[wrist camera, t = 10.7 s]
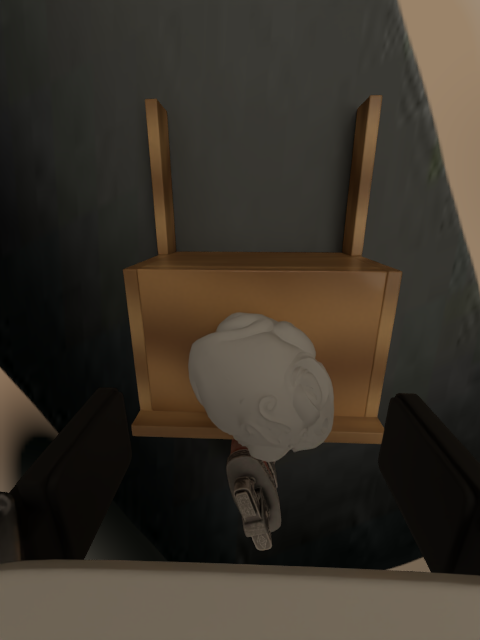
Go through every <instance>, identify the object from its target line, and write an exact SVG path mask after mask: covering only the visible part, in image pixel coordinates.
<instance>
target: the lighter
mask: <svg viewBox="0 0 480 640" xmlns="http://www.w3.org/2000/svg"><path fill="white" fill-rule="evenodd" d="M274 464H275V461H274V462H266V461H263V460H260V459H256V458H254V457H252V456H251V455H250V453H249V450H248V448H247V447H246V446H242V445H241V444H238V441H237V440H235V439H232V444H231V454H230V456H229V457H228V459H227V469H226V471H227V477H228V482H229V487H230V490H231V493H232V496H233V499H234V502H235V504H236V505H237V507H238V509H239V511H240V513H241V515H242V521H243V528H244V532H245V534H246V537H250V536H251V537H252V539H253V541H254V544H255V546H256V548H257V549H258V550H267V549H270V548H271V546H272V544H271V532H273V531H275V530H277V529H278V528H279V527H280V525H281V514H280V505H279V498H278V494H277V490H276V488H277V474H276V470H275V466H274Z"/></svg>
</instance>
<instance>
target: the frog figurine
mask: <svg viewBox="0 0 480 640" xmlns="http://www.w3.org/2000/svg"><path fill="white" fill-rule="evenodd" d="M315 357H316V351H315V348H314V345H313V343H312V342H311V340H310V339H309V338H308V337H307V336H306V335H305V333H304V332H302V331H301V330H300V329H298V328H296V327H295V326H294V325H293V324H292V323H290V322H287V321H281V322H277V321H276V320H274V319H272V318H269V317H266V316H264V315H261V314H252V313H241V312H238V313H233V314H231V315H230V316H228V317H227V318H226V319H225V320H223V321H222V322H221V323H220V324H219V326H218V327H217V330H216V332H214V333H211V334H208V335H206V336H204V337H202V338H200V339H198V340H196V341H195V342H194V343H193V344H192V347H191V350H190V354H189V363H188V369H189V380H190V383H191V386H192V388H193V391H194V393H195V395H196V397H197V399H198V401H199V402H200V404H201V405H203V406H204V408H205V410H206V412H207V414H208V417H209V418H210V419H211V421H212V422H213V423H214V424H215V425H216V426H217V427H218V428H219V429H220V430H222V431H223V432H226V433H228V434H229V435H233V437H234V439H235V440H237V441H238V444H241V445H242V446H246V447H247V448H248V450H249V453H250V455H251V456H252V457H254V458H256V459H260V460H263V461H266V462H274V461H277V460H279V459H280V458H282V457H283V456H284V455H286V453H287V452H288V451H289V450H291V449H292V450H293V451H294V452H296V451H300V450H306V449H312V448H316V447H317V446H318V445H320V444H321V443H322V442H324V441H325V439H326V438H327V437H328V435H329V433H330V432H331V430H332V425H333V418H334V394H333V386H332V382H331V379H330V377H329V375H328V373H327V371H326V369H325V367H324V366H323V364H322V363H320V362H318V361H317V360H316V359H315Z"/></svg>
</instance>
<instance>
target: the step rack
mask: <svg viewBox="0 0 480 640" xmlns="http://www.w3.org/2000/svg"><path fill="white" fill-rule="evenodd" d="M381 103H382V95H371V96H369V97H368V98H367V100H366V101H365V102H364V103H363V104H362V105H361V106H360V107H359V108H358V110H357V119H356V128H355V137H354V146H353V156H352V165H351V174H350V183H349V193H348V202H347V211H346V220H345V229H344V239H343V248H342V252H343V253H330V252H175V251H176V242H175V227H174V212H173V197H172V181H171V166H170V151H169V136H168V121H167V111H166V110H165V109H164V108H163V106H162V105H161V104H160V103H159V102H158V100H157V99H145V106H146V118H147V129H148V141H149V153H150V165H151V176H152V188H153V200H154V211H155V223H156V235H157V247H158V256H155V257H153V258H150V259H148V260H145V261H143V262H140V263H138V264H135V265H133V266H130V267H128V268H125V269H123V273H124V282H125V290H126V298H127V306H128V314H129V322H130V330H131V338H132V346H133V354H134V362H135V370H136V378H137V386H138V394H139V402H140V412H139V414H138V415H137V417H136V419H135V420H134V422H133V424H132V433H133V436H151V437H181V438H212V439H234V437H233V435H229V434H228V433H226V432H223V431H222V430H220V429H219V428H218V427H217V426H216V425H215V424H214V423H213V422H212V421H211V419H210V418H209V417H208V414H207V412H206V410H205V408H204V406H203V405H201V404H200V402H199V401H198V399H197V397H196V395H195V393H194V391H193V388H192V386H191V383H190V380H189V369H188V363H189V354H190V350H191V347H192V344H193V343H194V342H195V341H196V340H198V339H200V338H202V337H204V336H206V335H208V334H211V333H214V332H216V330H217V327H218V326H219V324H220V323H221V322H222V321H223V320H225V319H226V318H227V317H228V316H230V315H231V314H233V313H238V312H241V313H252V314H261V315H264V316H266V317H269V318H272V319H274V320H276V321H277V322H281V321H287V322H290V323H292V324H293V325H294V326H295V327H296V328H298V329H300V330H301V331H302V332H304V333H305V335H306V336H307V337H308V338H309V339H310V340H311V342H312V343H313V345H314V348H315V351H316V357H315V359H316V360H317V361H318V362H320V363H322V364H323V366H324V367H325V369H326V371H327V373H328V375H329V377H330V379H331V382H332V386H333V394H334V418H333V425H332V430H331V432H330V433H329V435H328V437H327V438H326V439H325V441H324V442H335V443H366V444H381V443H382V438H383V433H384V428H383V426H382V424H381V423H380V421H379V419H378V418H377V414H378V409H379V403H380V397H381V392H382V386H383V380H384V375H385V369H386V363H387V357H388V352H389V346H390V340H391V335H392V329H393V323H394V318H395V312H396V306H397V300H398V295H399V289H400V283H401V278H402V271H399V270H396V269H394V268H391V267H388V266H386V265H383V264H380V263H378V262H375V261H372V260H369V259H367V258H364V257H361V256H362V250H363V242H364V234H365V226H366V219H367V211H368V203H369V196H370V188H371V180H372V172H373V165H374V157H375V149H376V142H377V134H378V126H379V118H380V111H381Z"/></svg>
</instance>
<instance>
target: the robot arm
mask: <svg viewBox="0 0 480 640" xmlns="http://www.w3.org/2000/svg"><path fill="white" fill-rule="evenodd" d="M131 458H132V450H131V443H130V437H129V430H128V424H127V417H126V411H125V404H124V398H123V394H122V393H121V392H118V390H117V388H98V389H97V390H96V391H95V393H94V394H93V395H92V396H91V397H90V398H89V399H88V401H87V402H86V403H85V404H84V405H83V406H82V408H81V409H80V410H79V411H78V412H77V413H76V415H75V416H74V417H73V418H72V419H71V420H70V422H69V423H68V424H67V425H66V426H65V427H64V429H63V430H62V431H61V432H60V433H59V434H58V436H57V437H56V438H55V439H54V440H53V441H52V443H51V444H50V445H49V446H48V447H47V448H46V450H45V451H44V452H43V453H42V454H41V455H40V456H39V458H38V459H37V460H36V461H35V462H34V464H33V465H32V466H31V467H30V468H29V469H28V470H27V472H26V473H25V474H24V475H23V476H22V477H21V479H20V480H19V481H18V482H17V484H16V485H15V487H14V488H13V489H12V490H11V491H10V492H9V493H7V492H0V640H480V464H479V462H478V461H477V460H476V459H475V458H474V457H473V456H472V455H471V454H470V452H469V451H468V450H467V449H466V448H465V447H464V446H463V445H462V444H461V443H460V441H459V440H458V439H457V438H456V437H455V436H454V435H453V434H452V433H451V431H450V430H449V429H448V428H447V427H446V426H445V425H444V424H443V423H442V421H441V420H440V419H439V418H438V417H437V416H436V415H435V414H434V413H433V412H432V410H431V409H430V408H429V407H428V406H427V405H426V404H425V403H424V402H423V400H422V399H421V398H420V397H419V396H418V395H417V394H405V393H398V394H396V396H395V398H391V399H390V403H389V408H388V413H387V418H386V423H385V428H384V433H383V438H382V443H381V448H380V453H379V458H378V463H379V468H380V471H381V473H382V475H383V477H384V479H385V481H386V483H387V485H388V487H389V489H390V491H391V493H392V495H393V497H394V499H395V501H396V503H397V505H398V507H399V509H400V511H401V513H402V515H403V517H404V519H405V521H406V523H407V525H408V527H409V529H410V531H411V533H412V535H413V537H414V539H415V541H416V543H417V545H418V547H419V549H420V551H421V553H422V555H423V557H424V559H425V561H426V563H427V565H428V567H429V569H430V571H431V573H429V572H413V571H391V570H369V569H346V568H323V567H298V566H272V565H245V564H218V563H188V562H156V561H153V562H152V561H123V560H84V558H85V556H86V554H87V552H88V550H89V548H90V546H91V544H92V542H93V540H94V538H95V535H96V533H97V531H98V529H99V527H100V525H101V523H102V521H103V519H104V517H105V515H106V512H107V510H108V508H109V506H110V504H111V502H112V500H113V498H114V496H115V494H116V492H117V489H118V487H119V485H120V483H121V481H122V479H123V477H124V475H125V473H126V471H127V469H128V466H129V464H130V462H131Z"/></svg>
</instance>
